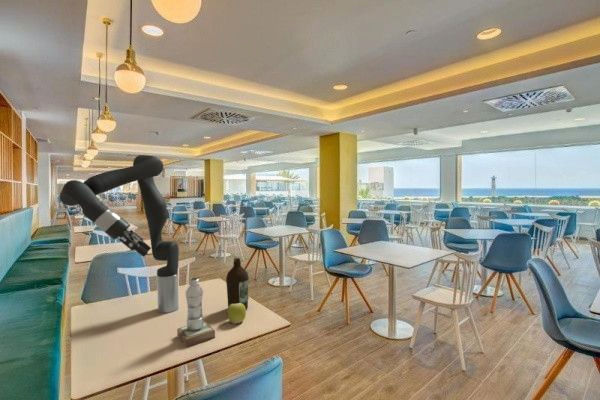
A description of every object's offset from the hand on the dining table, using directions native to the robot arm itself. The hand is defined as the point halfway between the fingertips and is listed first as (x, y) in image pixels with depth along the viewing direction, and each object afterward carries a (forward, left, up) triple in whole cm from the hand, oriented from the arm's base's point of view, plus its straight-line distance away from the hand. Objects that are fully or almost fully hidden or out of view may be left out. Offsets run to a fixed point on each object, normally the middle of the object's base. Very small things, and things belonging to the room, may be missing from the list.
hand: (147, 252), depth 118 cm
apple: (+7, +34, -35) cm, 49 cm away
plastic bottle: (+8, +15, -32) cm, 36 cm away
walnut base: (+9, +15, -35) cm, 39 cm away
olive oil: (-5, +41, -35) cm, 54 cm away
